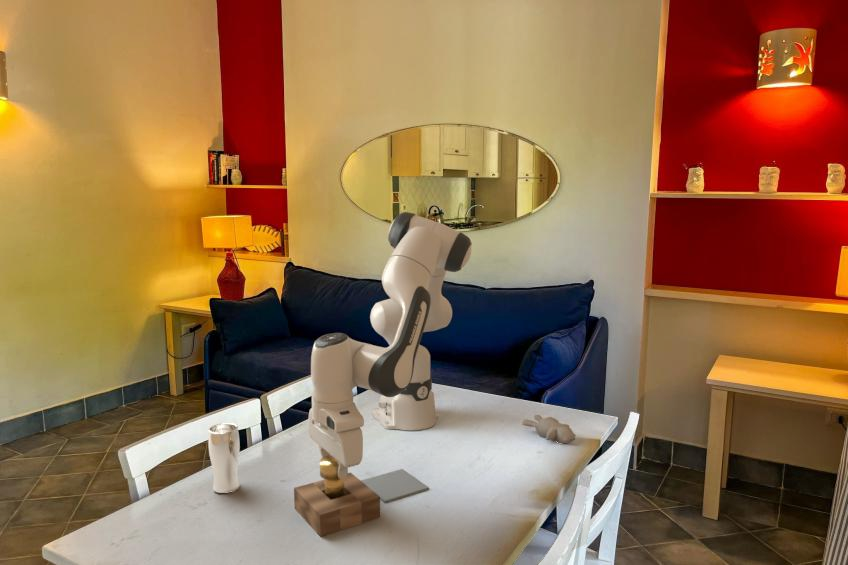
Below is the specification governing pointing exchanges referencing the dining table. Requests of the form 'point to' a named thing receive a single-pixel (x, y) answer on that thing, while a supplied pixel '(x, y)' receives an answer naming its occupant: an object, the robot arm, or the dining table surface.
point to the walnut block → (336, 505)
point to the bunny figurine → (551, 429)
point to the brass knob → (331, 477)
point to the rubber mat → (394, 485)
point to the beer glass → (224, 456)
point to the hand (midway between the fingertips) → (334, 470)
